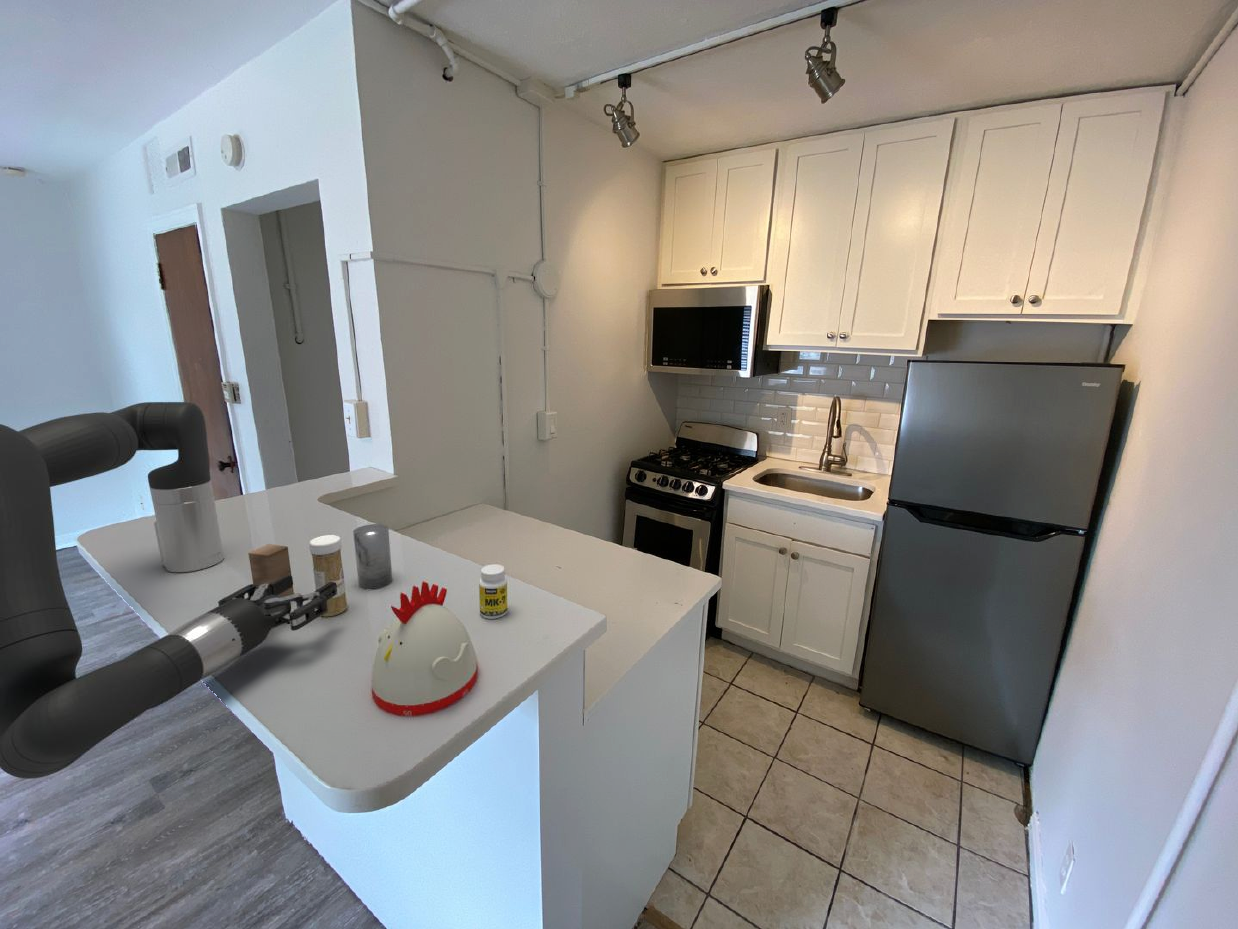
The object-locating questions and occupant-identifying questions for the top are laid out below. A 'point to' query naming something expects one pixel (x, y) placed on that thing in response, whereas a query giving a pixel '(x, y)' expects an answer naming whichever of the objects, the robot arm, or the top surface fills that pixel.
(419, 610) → the kitchen timer
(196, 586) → the top surface
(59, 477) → the robot arm
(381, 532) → the grey metal tin
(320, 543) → the sprinkles bottle
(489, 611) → the supplement bottle
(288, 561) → the walnut block
